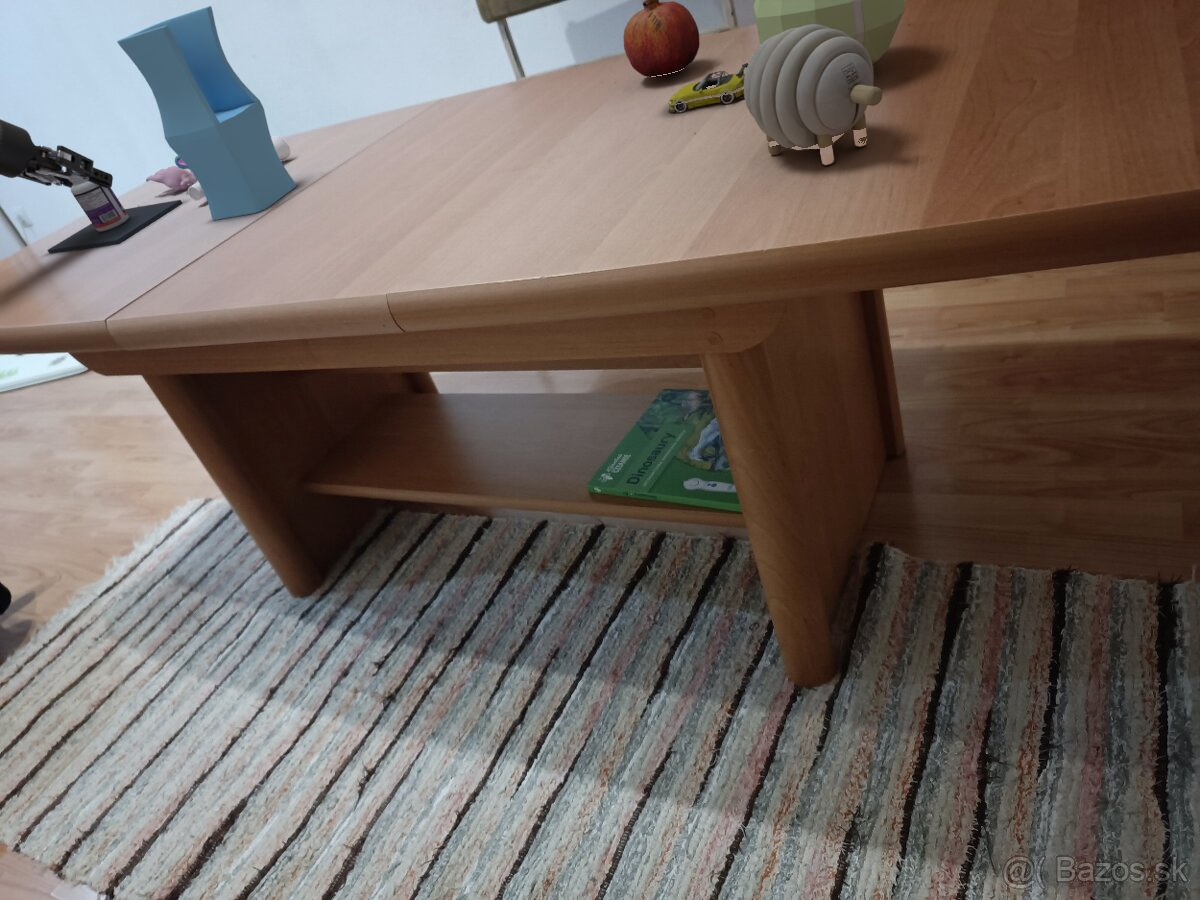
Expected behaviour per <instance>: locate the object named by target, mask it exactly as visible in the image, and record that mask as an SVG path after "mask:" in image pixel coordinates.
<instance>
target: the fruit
mask: <svg viewBox="0 0 1200 900" xmlns="http://www.w3.org/2000/svg"><path fill="white" fill-rule="evenodd" d="M642 6H643V9H641V10H639V11H638V12H636V13H634V14H633V15H632V16H631V18H630V19H629V20H628V21H627V23H626V25H625V27H624V30H623V36H622V37H623V49H624V53H625V55H626V57H627V59H628V61H629V64H630V66H631V67H632V68H633V69H634V70H635V71H636V72H637V73H638V74H640V75H642V76H643V77H646V76H647V78H653V79H658V78H668V77H672V76H674V75H677V74H679V73H681V72H682V71H684V70H685V69H686V68H687V67H688V66H689V65H691V64H692V62H694V60H695V59H696V56H697V55H698V52H699V49H700V32H699V27H698V25H697V23H696V20H695V18H694V17H693V15H692V14H691V12H690V10H689V9H688V8H687V7H686V6H684V5H683V4H681V3H679V2H677V1H660V0H644V1H643V2H642ZM686 66H687V67H686ZM685 67H686V68H685ZM683 68H685V69H683ZM681 69H683V70H681ZM679 70H681V71H679ZM675 71H678V72H675ZM672 72H675V73H672ZM668 73H671V74H668ZM663 74H667V75H663ZM657 75H662V76H657ZM651 76H656V77H651Z"/></svg>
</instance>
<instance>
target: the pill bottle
mask: <svg viewBox="0 0 1200 900" xmlns="http://www.w3.org/2000/svg"><path fill="white" fill-rule="evenodd" d="M73 172H75V171H73ZM76 173H77V172H76ZM68 180H69V181H70V182H72V183H73V186H72V187H71V188H70V192H71V194H72V196H73V197H74V199H75V200H76V202H77V204H79V206H80V208H81V209H82V210H83V212H84V213H85V215H86V216H87V218H88V220H89V221H90V223H91V224H93V226H94V227H95V228H96V230H97V231H99V232H103V231H107V230H110V229H113V228H115V227H117V226H119V225H121V224H123V223H124V222H126V221H127V220H128V218H129V216H128V214H127V212H126V211H125V209H126V208H124V206H123V204H122V203H121V201H120V200H119V198H118V197H117V195H116V194H115V192H114V190H113V188H112V187H110V188H105V187H102V186H100V185H97V184H94V183H92V182H89V181H86V180H83V179H79V178H75V177H71V178H69V179H68Z"/></svg>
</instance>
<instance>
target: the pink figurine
mask: <svg viewBox="0 0 1200 900" xmlns="http://www.w3.org/2000/svg"><path fill="white" fill-rule="evenodd" d="M174 164H175V165H176V166H174V165H173V166H169V167H167V168H162V169H159V170H157V171H156V172H155V173H154V174H152V175H149V176H147V177H146V179H145V182H146V183H148V182H150V181H151V182H154V183H158V184H163V185H164V186H166V187H167V188H169V189H172V190H176V191H178V190H181V191H185V190H188V188H189V185H190V186H192V185H193V184H194V183H196V182H197V179H196V177H195V176H194V174H193V173H192V171H191V170H190V169H189V168H188V166H187V165H186V164H185V163H184V162H183V160H182V159H181V158H180V157H179V156H178V155H176V156H175V157H174ZM188 170H189V171H190V172H189V171H188Z"/></svg>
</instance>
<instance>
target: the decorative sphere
mask: <svg viewBox="0 0 1200 900" xmlns="http://www.w3.org/2000/svg"><path fill="white" fill-rule="evenodd" d="M905 7H906V6H905V0H754V3H753V13H754V18H755V23H756V29H757V35H758V41H759V44H760V45H761V44H762V43H763V42H765V41H766V40H767V39H769V38H771V37H773V36H775V35H778V34H780V33H782V32H784V31H786V30H788V29H792V28H797V27H802V26H806V25H811V24H818V25H823V26H826V27H829V28H831V29H836V30H839V31H842V32H844V33H845V34H847V35H848V36H849V37H851V38H853V39H855V40H857V41H858V42H859V43H861V44H862V45H863V46H864V48H865V49H866V50H867V52H868V54H869V56H870V59H871V61H872V65H873V64H875V63H876V62H877V61H879V60H880V59H881V58H882V56H884V54H885V53H886V52H887V51H888V50H889V48H890V46H891V43H892V41H893V38H894V36H895V34H896V32H897V29H898V27H899V24H900V21H901V19H902V18H903V15H904V12H905V10H906V8H905ZM760 45H759V46H760Z"/></svg>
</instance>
